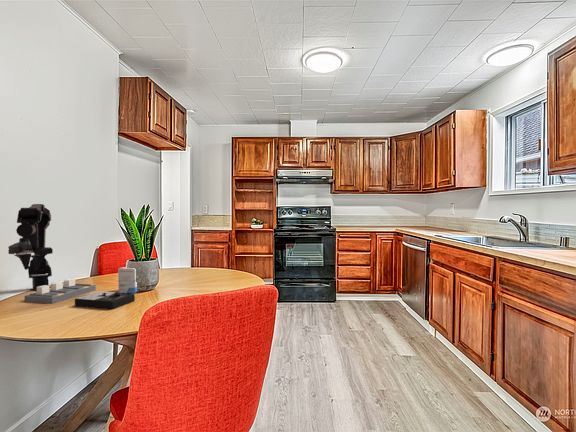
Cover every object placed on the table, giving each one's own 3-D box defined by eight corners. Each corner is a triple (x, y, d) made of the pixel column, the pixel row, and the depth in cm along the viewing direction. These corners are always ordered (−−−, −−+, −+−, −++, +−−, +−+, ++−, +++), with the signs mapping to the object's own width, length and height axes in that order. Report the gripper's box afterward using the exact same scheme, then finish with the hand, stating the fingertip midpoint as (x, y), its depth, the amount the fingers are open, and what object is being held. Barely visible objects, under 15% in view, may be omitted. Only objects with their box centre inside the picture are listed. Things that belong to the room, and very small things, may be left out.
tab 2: (50, 289, 160) (50, 283, 160) (57, 288, 163) (57, 281, 163) (56, 290, 159) (56, 283, 159) (62, 288, 163) (62, 282, 163)
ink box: (140, 290, 169) (140, 266, 169) (134, 293, 164) (134, 268, 164) (124, 290, 170) (123, 266, 170) (118, 292, 165) (117, 268, 165)
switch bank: (24, 301, 151) (24, 294, 151) (70, 288, 174) (70, 282, 174) (52, 303, 147) (52, 296, 147) (95, 290, 171) (95, 284, 170)
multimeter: (112, 310, 138) (112, 298, 138) (74, 307, 143) (73, 295, 143) (135, 302, 151) (135, 290, 150) (99, 299, 156) (98, 288, 155)
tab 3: (63, 286, 167) (63, 280, 167) (70, 284, 170) (70, 278, 170) (69, 286, 166) (68, 280, 166) (75, 285, 169) (75, 279, 169)
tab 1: (36, 293, 153) (36, 286, 153) (44, 291, 157) (44, 285, 156) (42, 294, 152) (41, 287, 152) (49, 292, 156) (49, 285, 156)
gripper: (-5, 236, 150) (-4, 272, 150) (29, 237, 145) (30, 273, 146) (20, 234, 160) (21, 267, 161) (53, 235, 156) (54, 269, 157)
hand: (31, 269), depth 156 cm, fingers open, 5 cm apart
